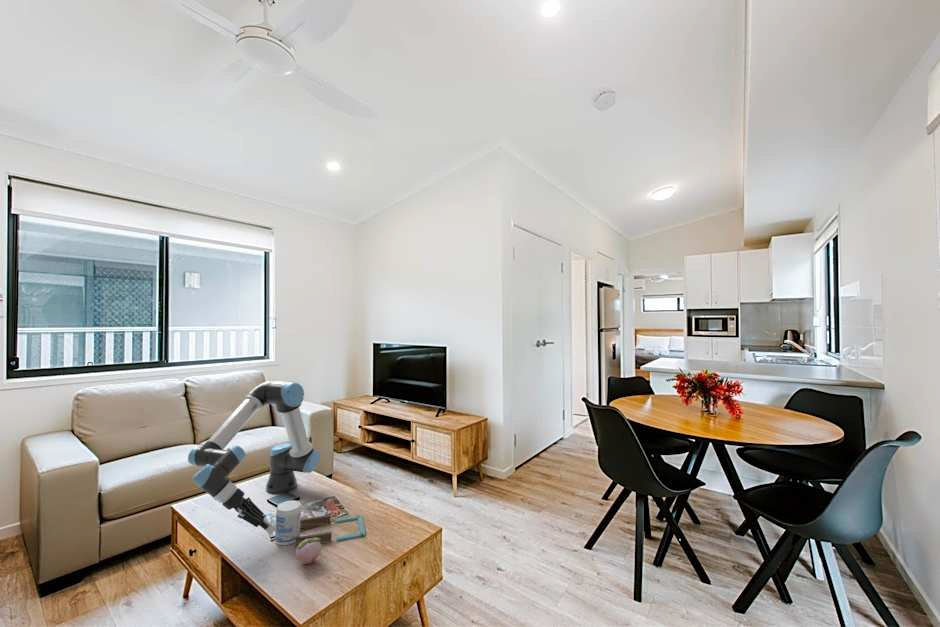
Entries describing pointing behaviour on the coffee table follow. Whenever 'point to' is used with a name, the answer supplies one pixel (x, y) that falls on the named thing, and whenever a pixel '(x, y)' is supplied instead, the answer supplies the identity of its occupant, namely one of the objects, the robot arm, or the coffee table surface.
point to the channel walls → (311, 523)
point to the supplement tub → (288, 522)
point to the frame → (350, 536)
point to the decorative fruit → (308, 550)
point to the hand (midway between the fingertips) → (273, 530)
